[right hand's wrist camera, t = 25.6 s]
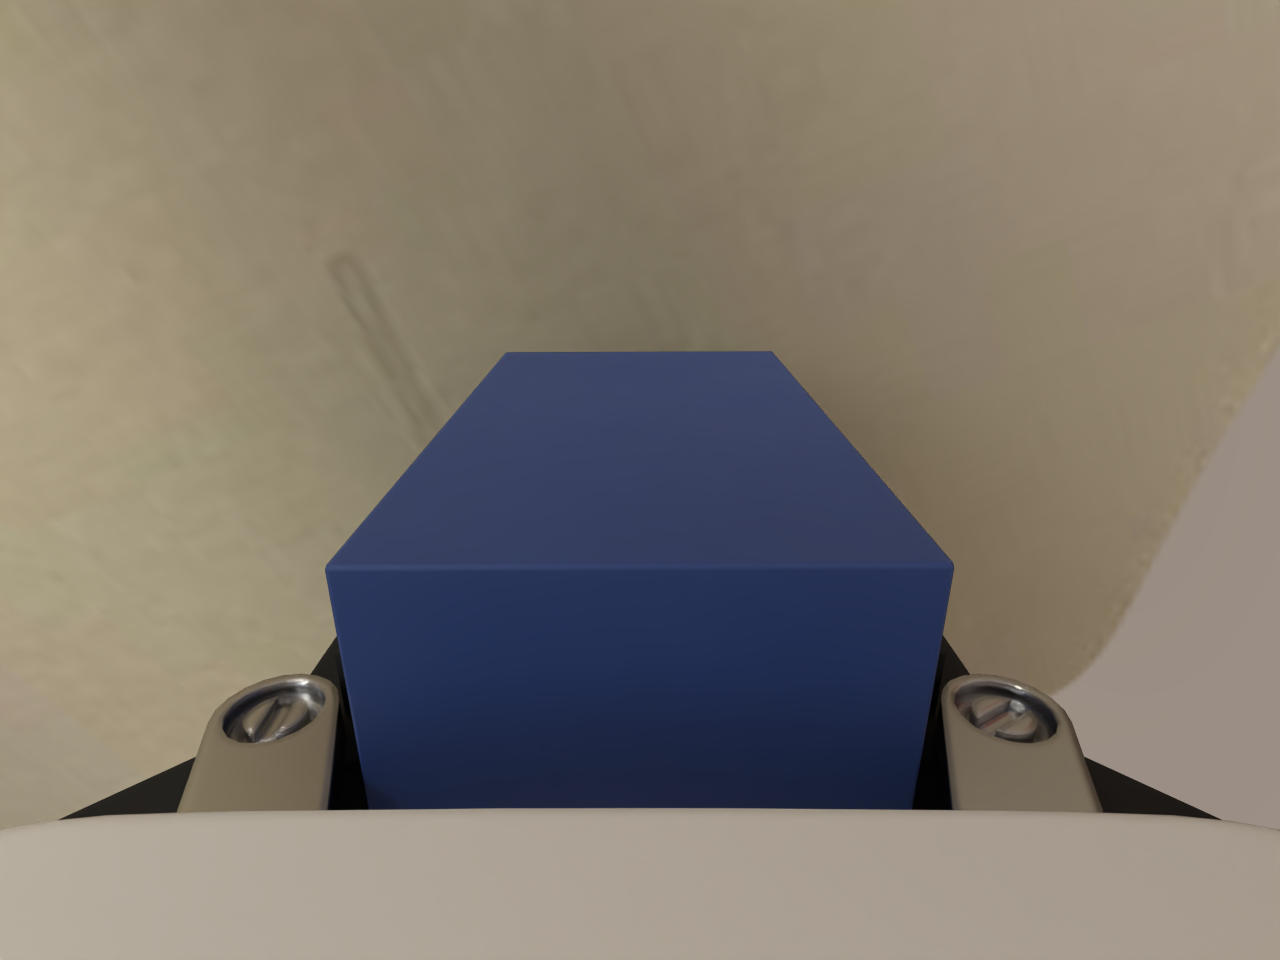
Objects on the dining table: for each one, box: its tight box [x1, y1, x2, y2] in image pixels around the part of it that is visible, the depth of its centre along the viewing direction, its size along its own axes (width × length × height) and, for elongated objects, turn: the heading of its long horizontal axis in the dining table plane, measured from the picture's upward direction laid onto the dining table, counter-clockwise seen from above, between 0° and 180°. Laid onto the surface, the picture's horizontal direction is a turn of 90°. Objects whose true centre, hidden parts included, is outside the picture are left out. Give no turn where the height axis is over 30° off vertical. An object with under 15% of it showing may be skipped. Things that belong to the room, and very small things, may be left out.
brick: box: [325, 351, 954, 810], centre depth 11 cm, size 5×7×9 cm
